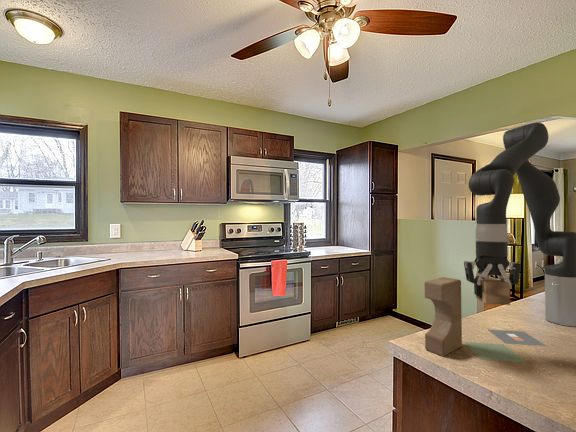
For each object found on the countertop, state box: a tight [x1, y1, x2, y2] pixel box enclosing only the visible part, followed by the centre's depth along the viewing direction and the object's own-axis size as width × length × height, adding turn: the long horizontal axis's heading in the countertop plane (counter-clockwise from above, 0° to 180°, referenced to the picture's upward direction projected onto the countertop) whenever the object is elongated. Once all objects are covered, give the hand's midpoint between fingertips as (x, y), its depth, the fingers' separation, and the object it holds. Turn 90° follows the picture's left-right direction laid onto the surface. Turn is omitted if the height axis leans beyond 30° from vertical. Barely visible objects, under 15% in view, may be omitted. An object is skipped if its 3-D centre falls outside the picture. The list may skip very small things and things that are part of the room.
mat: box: [463, 341, 528, 363], centre depth 81 cm, size 11×11×1 cm
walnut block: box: [475, 277, 511, 306], centre depth 82 cm, size 6×6×6 cm
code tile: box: [487, 329, 547, 347], centre depth 91 cm, size 11×11×1 cm
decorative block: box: [423, 276, 463, 357], centre depth 84 cm, size 11×6×20 cm, turn 124°
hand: (491, 298), depth 82 cm, fingers closed on walnut block, 6 cm apart
